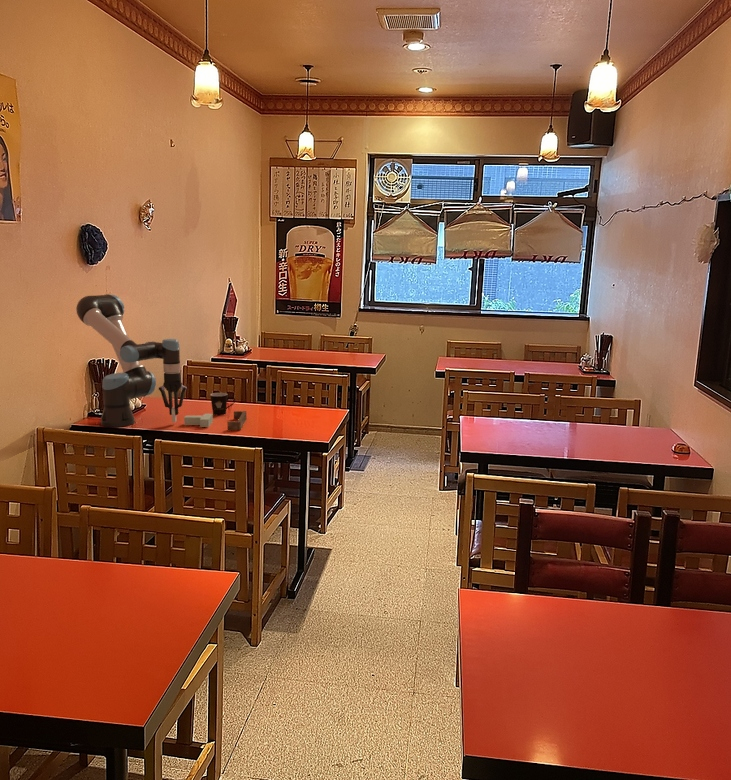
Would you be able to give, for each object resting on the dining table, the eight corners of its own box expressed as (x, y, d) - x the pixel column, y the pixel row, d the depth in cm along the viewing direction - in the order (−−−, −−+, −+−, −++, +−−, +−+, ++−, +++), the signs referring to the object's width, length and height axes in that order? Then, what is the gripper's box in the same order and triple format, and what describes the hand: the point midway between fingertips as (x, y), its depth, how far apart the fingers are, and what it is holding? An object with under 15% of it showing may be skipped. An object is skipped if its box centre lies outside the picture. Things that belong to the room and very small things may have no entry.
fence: (227, 430, 320) (227, 422, 320) (234, 419, 342) (234, 411, 342) (240, 430, 321) (240, 422, 320) (246, 419, 343) (246, 411, 342)
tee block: (182, 427, 324) (182, 419, 324) (187, 421, 336) (187, 413, 335) (208, 427, 325) (208, 419, 324) (212, 421, 337) (212, 413, 336)
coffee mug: (207, 414, 350) (207, 395, 348) (216, 411, 358) (215, 392, 356) (228, 416, 347) (227, 397, 345) (236, 413, 355) (236, 393, 353)
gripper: (155, 373, 321) (158, 423, 326) (184, 373, 322) (186, 423, 326) (159, 371, 328) (162, 419, 333) (187, 371, 329) (189, 419, 334)
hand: (174, 421), depth 330 cm, fingers closed
